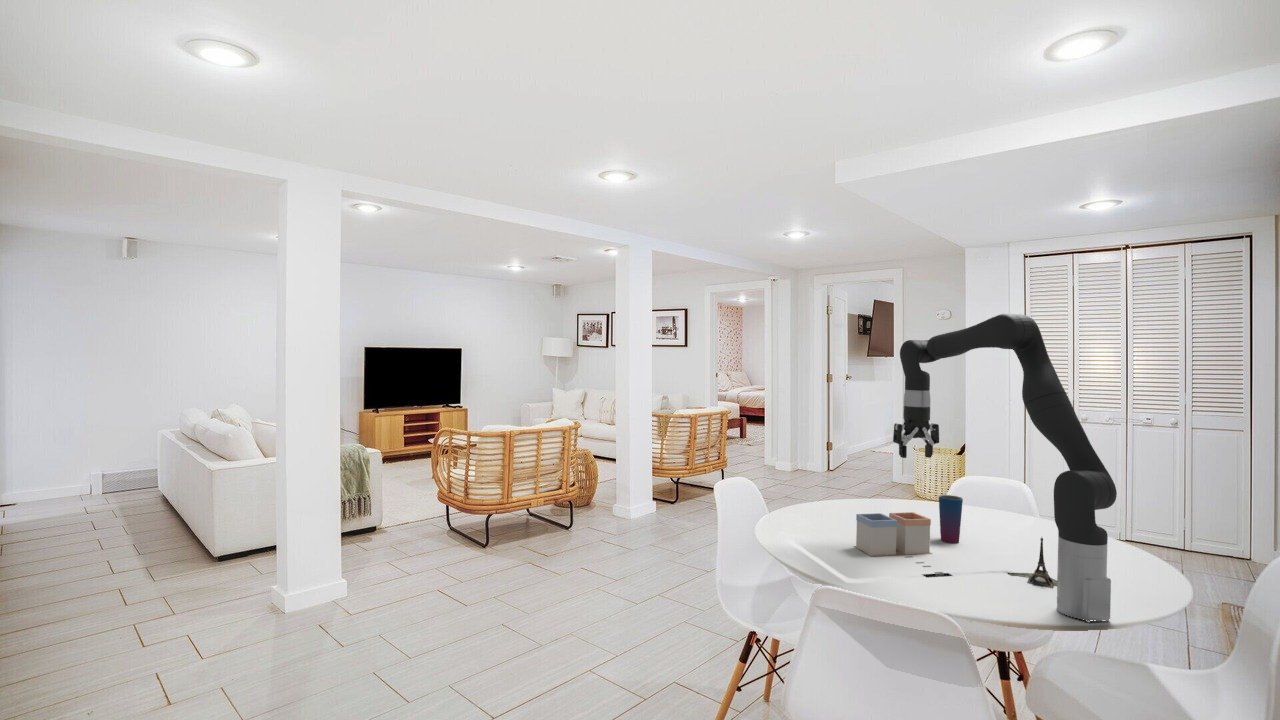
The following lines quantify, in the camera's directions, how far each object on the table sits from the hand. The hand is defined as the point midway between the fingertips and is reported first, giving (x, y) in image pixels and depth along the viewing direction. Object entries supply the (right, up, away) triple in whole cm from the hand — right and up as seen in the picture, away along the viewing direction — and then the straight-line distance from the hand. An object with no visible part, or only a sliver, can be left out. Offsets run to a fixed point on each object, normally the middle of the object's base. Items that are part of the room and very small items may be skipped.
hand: (915, 457), depth 189 cm
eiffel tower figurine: (+21, -29, -28) cm, 45 cm away
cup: (+13, -29, +5) cm, 32 cm away
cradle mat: (-6, -28, -18) cm, 34 cm away
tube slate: (-15, -27, -7) cm, 31 cm away
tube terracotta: (-4, -27, -5) cm, 28 cm away
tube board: (-10, -28, -6) cm, 30 cm away
